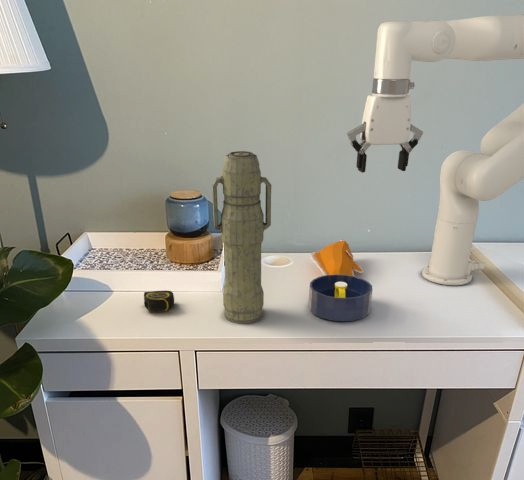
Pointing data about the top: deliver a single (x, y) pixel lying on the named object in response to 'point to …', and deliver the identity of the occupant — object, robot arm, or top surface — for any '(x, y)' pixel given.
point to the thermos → (242, 234)
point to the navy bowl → (340, 308)
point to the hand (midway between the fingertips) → (381, 170)
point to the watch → (340, 289)
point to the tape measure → (159, 301)
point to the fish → (335, 260)
